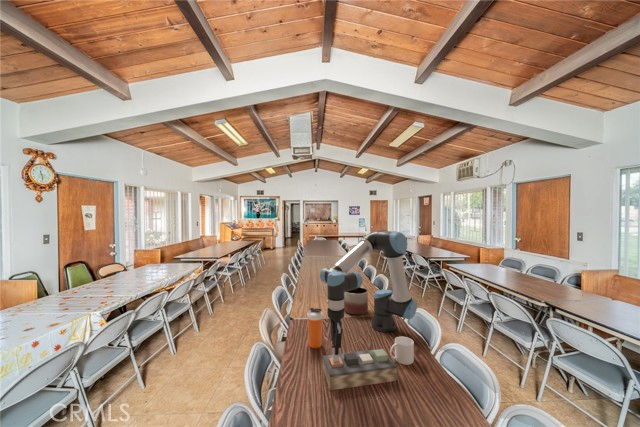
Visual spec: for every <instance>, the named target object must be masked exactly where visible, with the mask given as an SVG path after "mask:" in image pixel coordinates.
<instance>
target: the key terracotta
mask: <svg viewBox="0 0 640 427" xmlns="http://www.w3.org/2000/svg"><path fill="white" fill-rule="evenodd" d="M329 363H330V365H331V368H336V367H343V362H342V360H341V358H340V357H339V361H336V362H333V358H329Z"/></svg>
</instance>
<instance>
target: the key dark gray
mask: <svg viewBox="0 0 640 427" xmlns="http://www.w3.org/2000/svg"><path fill="white" fill-rule="evenodd" d="M355 352H356V351H353V353H350V352H344V353H345V354H344V361H345V363H346V365H347V366H352V365H358V357H357V356H356V354H355Z"/></svg>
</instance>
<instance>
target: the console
mask: <svg viewBox="0 0 640 427" xmlns="http://www.w3.org/2000/svg"><path fill="white" fill-rule="evenodd" d="M379 349H380V348H377V349H375V350H379ZM373 350H374V349H370V350H361V351H353V352H355V354H356V356H357V357H358V365H352V366H347V365H346V363H345V361H344V354H345V353H346V352H344V353H343V352H342V353H339V357H340V358H341V360H342V362H343V367H336V368H331V365H330V363H329V358H333V354H327V355H323V356H322V357H323V358H322V369H323V373H324V375H325V379H326V382H327V385H328V388H329V391H334V390H342V389H347V388H354V387H356V388H357V387H364V386H369V385H376V384H383V383H390V382H396V381H397V378H398V376H397V369H398V368H397V365H396V363H395V362H394V361H393V360H392V357H391V356H390V355H388V361H383V362H376V360H375V359H374V357H373ZM353 352H349V353H353ZM361 354H370V356H371V357H372V359H373V363H367V364H362V363H361V361H360V360H359V355H361ZM390 357H391V358H390Z"/></svg>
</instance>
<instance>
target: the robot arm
mask: <svg viewBox="0 0 640 427" xmlns="http://www.w3.org/2000/svg"><path fill="white" fill-rule="evenodd" d="M407 250H408V241H407V238H406V235H405V234H404V233H402V232H401V231H394V230H393V231H391V230H390V231H385V230H375V231H372V232H369V233H368V234H366V235H364V236H363V237H361V239H360V240H359V241H358V243H356V245H355V246H354V247H353V248H352V249H351V250H349V251H348V252H347V253H345V254H344V255H343V256H342V257H341V258H340V259H338V260H337V261H336V262H335V263H334V264H333V265H332V266H331V267H324V268H322V269H321V270H320V272H319V278H320V280H321V282H322V283H325V284H327V285H326V287H327V291H326V292H327V293H326V294H327V300H326V304H327V309H326V311H327V317H328V318H329V323H330V341H331V343H332V345H331V346H332V347H331V349H332V355H333V362H336V361H339V354H340V348H341V347H342V337H343V336H342V335H343V328H342V321H341V320H342V319H343V318H344V317H345V311H344V292H347V291H350V290H354V289H357V288H359V287H362V285H363V277H362V275H361V274H360V273H359V272H357V271H353V272H352V271H351V273H350V272H349V271H350V270H351V269H353V267H355V265H356V264H358V262H360V261H361V260H362V259H363V258H364V257H366V256H367V255H368V254H371V253H373V252H374V251H381V252H382V254H383V257H384V258H386V260H387V265H388V272H389V276H390V283H391V288H392V290H391V289H377V290H375V291H374V295H373V300H374V301H373V305H374V306H373V309H374V310H373V313H374V314H373V316H372V320H371V327H372V328H373V329H374V330H375V331H377V332H378V331H379V332H381V333H390V332H394V331H395V330H396V329H397V328H396V326H397V324H396V321H395V318H394V316H396V317H399V318H402V319H406V320H412V319H413V318H414V317H415V315H416V313H417V309H418V302H417V300H415V299H413V297H412V294H411V293H410V292H409V289H408V283H407V276H406V271H405V265H404V259H403V256H404V255H405V252H407Z"/></svg>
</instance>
